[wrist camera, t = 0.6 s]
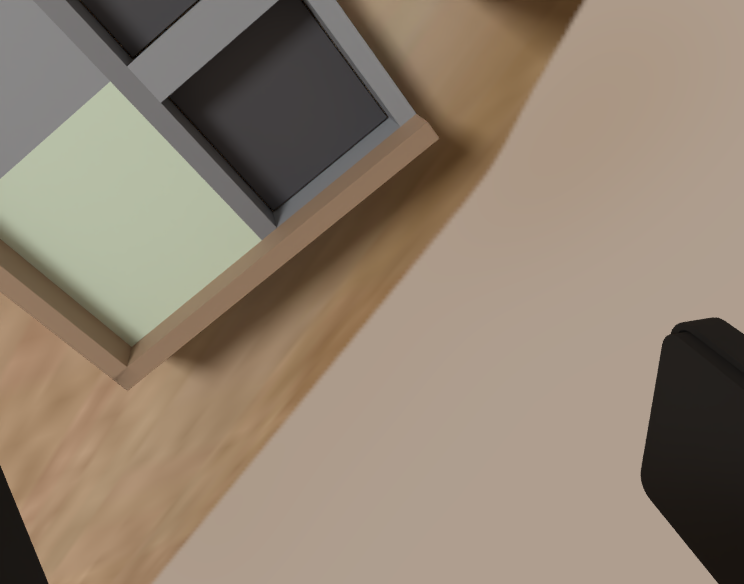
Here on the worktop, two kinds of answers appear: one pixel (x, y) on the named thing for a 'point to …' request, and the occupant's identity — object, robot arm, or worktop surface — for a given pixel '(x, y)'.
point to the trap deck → (178, 159)
